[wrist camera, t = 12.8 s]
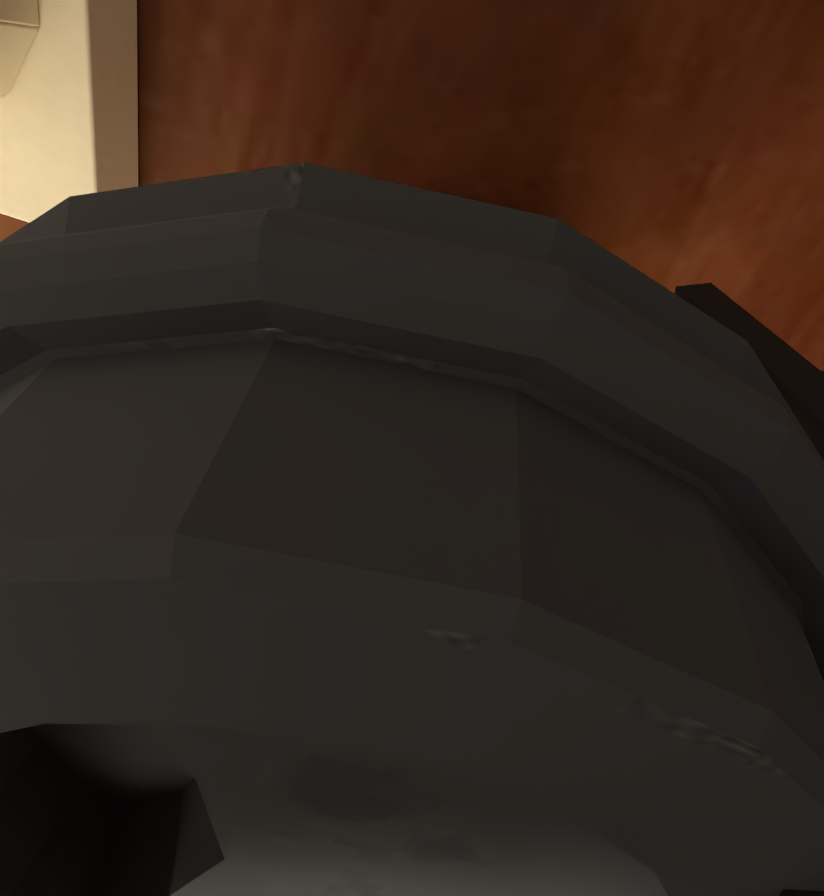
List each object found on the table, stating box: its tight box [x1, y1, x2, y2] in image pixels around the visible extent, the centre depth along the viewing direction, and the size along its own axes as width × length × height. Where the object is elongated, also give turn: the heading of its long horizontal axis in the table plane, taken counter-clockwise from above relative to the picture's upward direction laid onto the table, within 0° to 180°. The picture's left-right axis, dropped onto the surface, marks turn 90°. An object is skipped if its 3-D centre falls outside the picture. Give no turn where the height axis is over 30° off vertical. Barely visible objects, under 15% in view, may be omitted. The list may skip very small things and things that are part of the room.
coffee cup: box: [0, 163, 824, 896], centre depth 11 cm, size 11×11×15 cm
